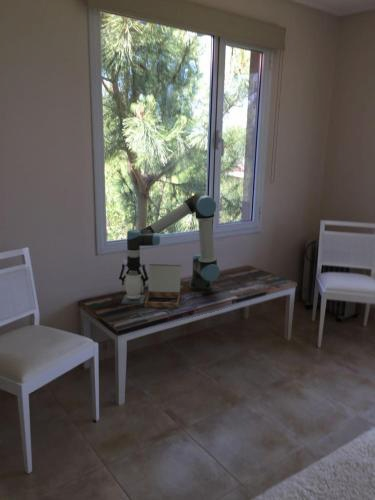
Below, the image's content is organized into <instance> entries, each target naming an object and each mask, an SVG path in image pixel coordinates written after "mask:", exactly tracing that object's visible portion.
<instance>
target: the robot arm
mask: <svg viewBox="0 0 375 500" xmlns="http://www.w3.org/2000/svg"><path fill="white" fill-rule="evenodd" d="M216 209H217V203H216V201H215V199H214V198H213V197H212V196H210V195H207V194H205V193H202V192H200V193H199V192H198V193H195V194H193V195H191V196H190V197H188V198H187V199H185V200H183V202H182V204H180V205H179V206H177V207H176V208H175V209H173V210H171V211H170V212H168V213H167V214H165V215H164V216H162V217H160V218H159V219H157V220H156V221H154V222H153V223H151V224H150V225H148V226H146V227H142V228H140V230H137V229H131V230H128V231H127V233H126V234H127V236H126V248H127V249H126V251H127V253H126V256H127V258H126V259H127V261H126V263H124V262H123V263H122V264H121V271H120V274H119V277H118V280H119V281H121V286H123V292H125V291H126V287H125V278H126V276H125V274H124V271H125V268H126V267H127V270H126V271H125V273H126V274H128V273H129V271H137V272H138V274H139V275H140V274H142V276H141V279H142V288H141V292H142V293H143V292H144V288H145V286H146V282H147V281H149V275H148V272H147V270H146V269H147V268H146V264H141V247H148V246H149V247H151V246H152V247H154V246H159V245H160V243H161V236H160V233H162V232H164V231H165V230H167V229H168V228H170V227H171V226H173V225H174V224H176V223H177V222H179V221H181V220H182V219H184V218H185V217H187V216H188V215H193V214H195V219H196V220H197V224H198V238H199V249H200V250H199V251H200V252H199V253H197V254H196V253H195V254H193V256H192V275H191V279H190V282H189V284H188V285H189V289H191V290H193V291H197V292H205V291H207V292H208V291H210V290H212V286H213V285H212V281H215V280H216V279H217V278H218V277H219V276H220V268H219V266H218V259H217V257H216V256H215V252H214V251H215V248H214V247H215V246H214V232H213V231H214V230H213V228H214V227H213V219H214V218H215V212H216ZM140 268H141V269H142V271H141V270H140ZM142 272H143V273H142ZM123 275H124V276H123Z"/></svg>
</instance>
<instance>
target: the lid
mask: <svg viewBox="0 0 375 500" xmlns="http://www.w3.org/2000/svg"><path fill="white" fill-rule="evenodd" d="M181 271H182V265H181V264H162V263H161V264H159V263H149V265H148V292H163V293H180V292H181V277H182V276H181V275H182V272H181Z"/></svg>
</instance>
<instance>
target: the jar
mask: <svg viewBox="0 0 375 500" xmlns="http://www.w3.org/2000/svg"><path fill="white" fill-rule="evenodd" d="M142 274H143V273H142ZM142 274H140V275H139V274H138V272H137V271H129V273H128V274H126V272H125V273H124V275H125V276H126V278H125V279H124V280H125V287H126V290H125V291H126V295H127V297H128V298H130V299H136V298H139V297H140V296H141V295H142V294H141V292H142V279H141V276H142Z"/></svg>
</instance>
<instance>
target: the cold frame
mask: <svg viewBox="0 0 375 500" xmlns="http://www.w3.org/2000/svg"><path fill="white" fill-rule="evenodd" d="M180 295H181V293H180V292H156V291H148V292H147V294H146V297H145V300H144V308H168V309H169V308H170V309H179V306H180V299H181V298H180V297H181V296H180ZM150 298H167V299H176V302H167V301H164V302H163V301H149V299H150Z"/></svg>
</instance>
